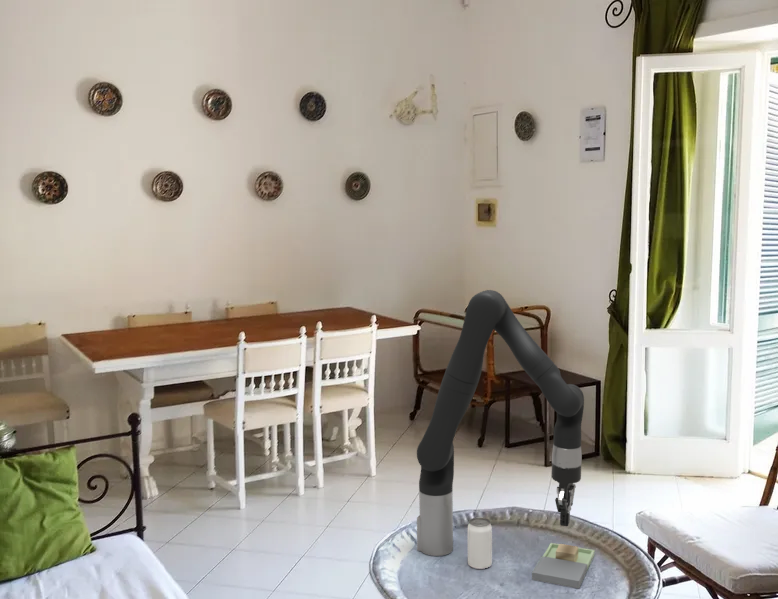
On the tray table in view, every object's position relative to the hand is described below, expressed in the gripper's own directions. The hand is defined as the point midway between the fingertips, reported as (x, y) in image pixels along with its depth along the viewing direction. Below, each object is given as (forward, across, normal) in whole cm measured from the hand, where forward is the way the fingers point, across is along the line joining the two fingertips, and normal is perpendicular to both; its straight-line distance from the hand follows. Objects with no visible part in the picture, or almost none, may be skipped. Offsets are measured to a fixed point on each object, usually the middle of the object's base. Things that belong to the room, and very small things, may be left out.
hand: (564, 524), depth 215 cm
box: (+11, -4, 0) cm, 12 cm away
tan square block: (+11, -3, 0) cm, 11 cm away
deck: (+11, +6, 0) cm, 13 cm away
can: (+12, +8, -21) cm, 25 cm away
